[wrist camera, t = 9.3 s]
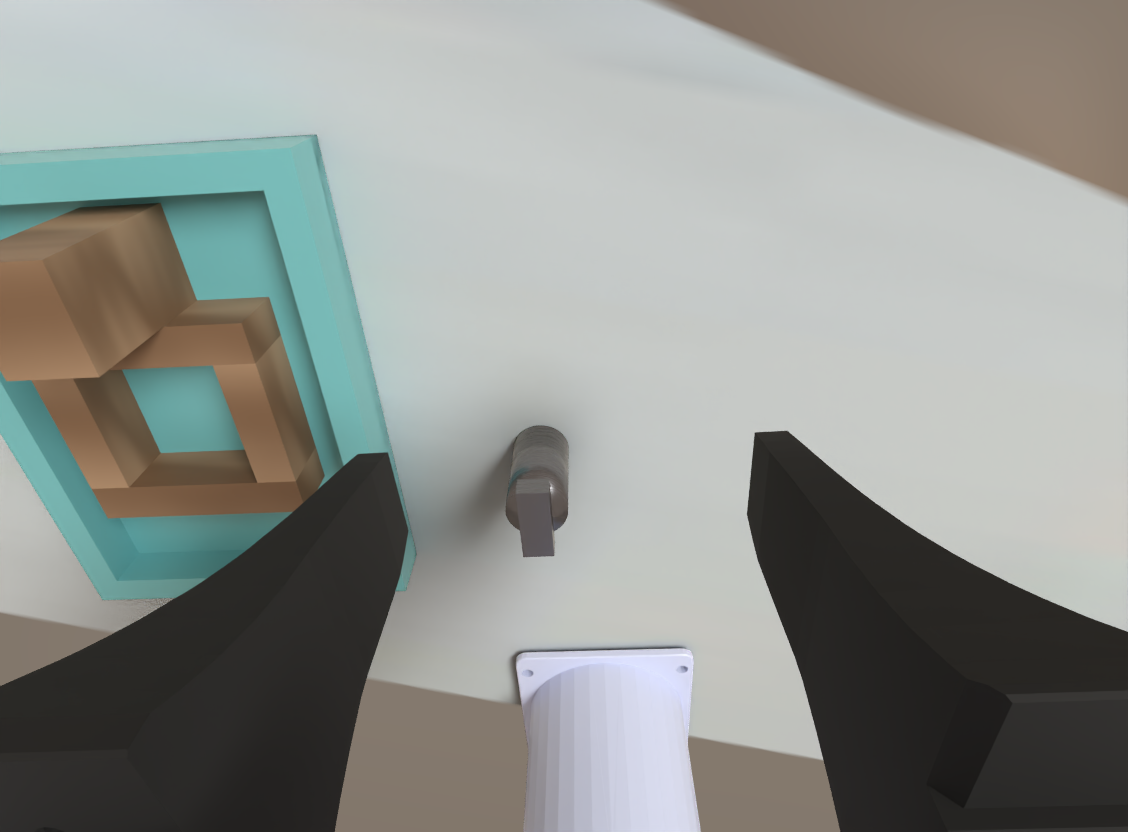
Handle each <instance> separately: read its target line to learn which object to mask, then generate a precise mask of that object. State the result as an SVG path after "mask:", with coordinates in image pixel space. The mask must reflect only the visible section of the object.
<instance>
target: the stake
mask: <svg viewBox="0 0 1128 832" xmlns="http://www.w3.org/2000/svg"><path fill="white" fill-rule="evenodd" d="M568 459H569V447H568V442H567V440H566V438H565V437H564V436H563V434H562V433H560V432H559V431H558V430H556V429H554V428H551V427H548V426H533V427H530V428H528V429H525V430H524V431H522V432H521V433H520V434H519V435H518V437H517V438H516V440H515V443H514V450H513V458H512V465H511V472H510V480H509V487H508V494H507V502H506V516H507V518H508V520H509V522H510V523H511V524H512V525H513V526H514V527H515V528H517V529H518V530H520V534H521V542H522V550H523V557H540V556H554V551H555V537H554V531H555V530H557V529H558V528H560V527H561V526H562V525H563V524H564V522H565V521H566V518H567V515H568Z"/></svg>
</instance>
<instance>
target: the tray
mask: <svg viewBox="0 0 1128 832" xmlns="http://www.w3.org/2000/svg"><path fill="white" fill-rule="evenodd" d="M148 203H161V205H162V208H163V211H164V213H165V216H166V219H167V221H168V224H169V227H170V229H171V232H172V235H173V237H174V240H175V243H176V245H177V248H178V251H179V253H180V256H181V259H182V261H183V264H184V267H185V269H186V272H187V275H188V277H189V280H190V283H191V286H192V288H193V291H194V294H195V296H196V299H197V300H214V299H234V298H255V297H269V298H270V302H271V305H272V308H273V311H274V314H275V318H276V321H277V324H278V327H279V330H280V334H281V337H282V340H283V343H284V346H285V350H286V353H287V356H288V359H289V362H290V366H291V369H292V372H293V375H294V379H295V382H296V385H297V388H298V391H299V395H300V398H301V401H302V404H303V407H304V411H305V414H306V417H307V420H308V423H309V427H310V430H311V433H312V436H313V439H314V443H315V446H316V449H317V452H318V455H319V459H320V462H321V465H322V468H323V471H324V475H325V477H324V479H323V480H322V482H321V484H320V486H319V488H320V487H321V486H322V485H323V484H324V483H326V482H327V481H328V480H329V479H330V478H331V477H332V476H333V475H334V474H335V473H336V472H338V471H339V470H340V469H341V468H342V467H343V466H344V465H345V464H346V463H348V462H349V461H350V460H351V459H352V458H354V457H355V456H356V455H357V454H365V453H383V452H388V454H389V458H390V462H391V466H392V470H393V473H394V477H395V481H396V485H397V489H398V492H399V496H400V500H401V504H402V508H403V511H404V515H405V519H406V523H407V526H408V530H409V531H408V537H407V543H406V548H405V554H404V560H403V565H402V570H401V575H400V578H399V581H398V584H397V588H396V591H406V589H407V585H408V582H409V579H410V575H411V572H412V568H413V565H414V561H415V558H416V550H415V545H414V541H413V537H412V533H411V529H410V524H409V520H408V516H407V512H406V508H405V504H404V499H403V495H402V491H401V487H400V483H399V478H398V474H397V470H396V466H395V462H394V457H393V453H392V449H391V445H390V441H389V436H388V432H387V428H386V424H385V420H384V416H383V411H382V407H381V403H380V399H379V395H378V390H377V386H376V382H375V378H374V374H373V369H372V365H371V361H370V357H369V353H368V348H367V344H366V340H365V336H364V332H363V328H362V323H361V319H360V315H359V311H358V307H357V302H356V298H355V294H354V290H353V286H352V281H351V277H350V273H349V269H348V265H347V260H346V256H345V252H344V248H343V244H342V240H341V235H340V231H339V227H338V223H337V219H336V214H335V210H334V206H333V202H332V198H331V193H330V189H329V185H328V181H327V177H326V173H325V168H324V164H323V160H322V156H321V152H320V147H319V143H318V139H317V135H302V136H285V137H269V138H252V139H235V140H218V141H201V142H184V143H168V144H151V145H134V146H117V147H100V148H84V149H67V150H50V151H33V152H16V153H0V240H2V239H4V238H7V237H9V236H12V235H14V234H17V233H19V232H21V231H24V230H26V229H29V228H31V227H34V226H36V225H38V224H41V223H43V222H46V221H48V220H50V219H53V218H55V217H58V216H60V215H63V214H65V213H67V212H70V211H72V210H75V209H77V208H80V207H94V206H112V205H130V204H148ZM122 371H123V373H124V375H125V377H126V380H127V382H128V384H129V386H130V388H131V390H132V392H133V395H134V397H135V399H136V401H137V403H138V405H139V407H140V410H141V412H142V414H143V416H144V418H145V420H146V422H147V425H148V427H149V429H150V431H151V433H152V435H153V437H154V440H155V442H156V444H157V446H158V448H159V450H160V452H161V453H173V452H199V451H225V450H245V449H244V446H243V444H242V441H241V439H240V436H239V433H238V431H237V428H236V425H235V423H234V420H233V418H232V415H231V412H230V410H229V407H228V405H227V402H226V399H225V397H224V394H223V391H222V389H221V386H220V384H219V381H218V378H217V376H216V373H215V371H214V368H213V366H191V367H168V368H146V369H124V370H122ZM0 434H1V435H2V437H3V439H4V440H5V442H6V443H7V445H8V447H9V448H10V450H11V452H12V453H13V455H14V456H15V458H16V460H17V461H18V463H19V465H20V466H21V468H22V469H23V471H24V473H25V474H26V476H27V478H28V479H29V481H30V482H31V484H32V486H33V487H34V489H35V491H36V492H37V494H38V496H39V497H40V499H41V500H42V502H43V504H44V505H45V507H46V509H47V510H48V512H49V513H50V515H51V517H52V518H53V520H54V522H55V523H56V525H57V526H58V528H59V530H60V531H61V533H62V535H63V536H64V538H65V539H66V541H67V543H68V544H69V546H70V548H71V549H72V551H73V553H74V554H75V556H76V557H77V559H78V561H79V562H80V564H81V566H82V567H83V569H84V570H85V572H86V574H87V575H88V577H89V579H90V580H91V582H92V583H93V585H94V587H95V588H96V590H97V592H98V593H99V595H100V596H101V598H102V600H122V599H155V598H177V597H178V596H180V595H182V594H183V593H185V592H187V591H188V590H190V589H192V588H193V587H195V586H196V585H198V584H199V583H201V582H202V581H204V580H205V579H207V578H208V577H210V576H211V575H212V574H214V573H215V572H217V571H218V570H220V569H221V568H223V567H224V566H226V565H227V564H228V563H230V562H231V561H232V560H234V559H235V558H237V557H238V556H239V555H241V554H242V553H243V552H245V551H246V550H247V549H248V548H250V547H251V546H252V545H253V544H255V543H256V542H257V541H258V540H260V539H261V538H262V537H263V536H264V535H266V534H267V533H268V532H269V531H271V530H272V529H273V528H274V527H275V526H277V525H278V524H279V523H280V522H281V521H283V520H284V519H285V518H286V517H288V516H289V515H290V514H291V513H292V512H277V513H248V514H220V515H191V516H163V517H134V518H107V516H106V514H105V512H104V511H103V509H102V507H101V505H100V503H99V502H98V500H97V498H96V496H95V494H94V493H93V491H92V489H91V487H90V485H89V484H88V482H87V480H86V478H85V476H84V475H83V473H82V471H81V469H80V467H79V466H78V464H77V462H76V460H75V458H74V457H73V455H72V453H71V451H70V449H69V448H68V446H67V444H66V442H65V440H64V439H63V437H62V435H61V433H60V431H59V430H58V428H57V426H56V424H55V422H54V420H53V419H52V417H51V415H50V413H49V411H48V410H47V408H46V406H45V404H44V402H43V401H42V399H41V397H40V395H39V393H38V392H37V390H36V388H35V386H34V384H33V383H32V381H31V380H25V381H6V380H5V378H4V376H3V374H2V373H1V371H0ZM319 488H318V489H319Z"/></svg>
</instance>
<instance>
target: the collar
mask: <svg viewBox="0 0 1128 832" xmlns="http://www.w3.org/2000/svg"><path fill="white" fill-rule="evenodd" d="M191 366H213V368H214V371H215V373H216V376H217V378H218V381H219V384H220V386H221V389H222V391H223V394H224V397H225V399H226V402H227V405H228V407H229V410H230V412H231V415H232V418H233V420H234V423H235V425H236V428H237V431H238V433H239V436H240V439H241V441H242V444H243V446H244V449H245V450H225V451H199V452H173V453H161V452H160V450H159V448H158V446H157V444H156V442H155V440H154V437H153V435H152V433H151V431H150V429H149V427H148V425H147V422H146V420H145V418H144V416H143V414H142V412H141V410H140V407H139V405H138V403H137V401H136V399H135V397H134V395H133V392H132V390H131V388H130V386H129V384H128V382H127V380H126V377H125V375H124V373H123V371H122V370H124V369H146V368H168V367H191ZM0 371H1V373H2V374H3V376H4V378H5V380H6V381H25V380H31V381H32V383H33V384H34V386H35V388H36V390H37V392H38V393H39V395H40V397H41V399H42V401H43V402H44V404H45V406H46V408H47V410H48V411H49V413H50V415H51V417H52V419H53V420H54V422H55V424H56V426H57V428H58V430H59V431H60V433H61V435H62V437H63V439H64V440H65V442H66V444H67V446H68V448H69V449H70V451H71V453H72V455H73V457H74V458H75V460H76V462H77V464H78V466H79V467H80V469H81V471H82V473H83V475H84V476H85V478H86V480H87V482H88V484H89V485H90V487H91V489H92V491H93V493H94V494H95V496H96V498H97V500H98V502H99V503H100V505H101V507H102V509H103V511H104V512H105V514H106V516H107V518H134V517H163V516H191V515H220V514H248V513H277V512H293V511H294V510H296V509H297V508H298V507H299V506H300V505H301V504H302V503H303V502H304V501H306V500H307V499H308V498H309V497H310V496H311V495H312V494H313V493H315V492H316V491H317V490H318V488H319V486H320V484H321V482H322V480H323V479H324V477H325V475H324V471H323V468H322V465H321V462H320V459H319V455H318V452H317V449H316V446H315V443H314V439H313V436H312V433H311V430H310V427H309V423H308V420H307V417H306V414H305V411H304V407H303V404H302V401H301V398H300V395H299V391H298V388H297V385H296V382H295V379H294V375H293V372H292V369H291V366H290V362H289V359H288V356H287V353H286V350H285V346H284V343H283V340H282V337H281V334H280V330H279V327H278V324H277V321H276V318H275V314H274V311H273V308H272V305H271V302H270V298H269V297H255V298H234V299H214V300H197V299H196V296H195V294H194V291H193V288H192V286H191V283H190V280H189V277H188V275H187V272H186V269H185V267H184V264H183V261H182V259H181V256H180V253H179V251H178V248H177V245H176V243H175V240H174V237H173V235H172V232H171V229H170V227H169V224H168V221H167V219H166V216H165V213H164V211H163V208H162V205H161V203H148V204H130V205H112V206H94V207H80V208H77V209H75V210H72V211H70V212H67V213H65V214H63V215H60V216H58V217H55V218H53V219H50V220H48V221H46V222H43V223H41V224H38V225H36V226H34V227H31V228H29V229H26V230H24V231H21V232H19V233H17V234H14V235H12V236H9V237H7V238H4V239H2V240H0Z"/></svg>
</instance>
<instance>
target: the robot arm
mask: <svg viewBox="0 0 1128 832" xmlns="http://www.w3.org/2000/svg"><path fill="white" fill-rule="evenodd" d="M747 516H748V521H749V525H750V530H751V534H752V538H753V543H754V547H755V551H756V555H757V559H758V562H759V564H760V567H761V570H762V573H763V575H764V578H765V580H766V583H767V586H768V588H769V591H770V594H771V596H772V599H773V602H774V604H775V607H776V609H777V612H778V615H779V617H780V620H781V622H782V625H783V627H784V630H785V633H786V635H787V638H788V640H789V643H790V646H791V648H792V651H793V653H794V656H795V659H796V662H797V665H798V668H799V671H800V674H801V677H802V680H803V683H804V687H805V691H806V694H807V698H808V702H809V705H810V709H811V713H812V717H813V720H814V724H815V728H816V732H817V736H818V740H819V744H820V748H821V752H822V756H823V760H824V764H825V767H826V772H827V776H828V779H829V784H830V788H831V792H832V797H833V801H834V805H835V810H836V814H837V818H838V823H839V827H840V832H1128V632H1127V631H1124V630H1121V629H1118V628H1115V627H1113V626H1110V625H1107V624H1104V623H1102V622H1099V621H1096V620H1093V619H1091V618H1088V617H1086V616H1083V615H1081V614H1079V613H1076V612H1074V611H1071V610H1069V609H1067V608H1064V607H1062V606H1060V605H1057V604H1055V603H1052V602H1050V601H1048V600H1045V599H1043V598H1041V597H1039V596H1036V595H1034V594H1032V593H1030V592H1028V591H1025V590H1023V589H1021V588H1019V587H1017V586H1015V585H1012V584H1010V583H1008V582H1006V581H1004V580H1002V579H1001V578H999V577H997V576H995V575H993V574H991V573H989V572H987V571H985V570H983V569H981V568H979V567H977V566H975V565H973V564H971V563H969V562H967V561H966V560H964V559H962V558H960V557H958V556H956V555H955V554H953V553H951V552H950V551H948V550H946V549H945V548H943V547H941V546H940V545H938V544H936V543H935V542H933V541H931V540H930V539H928V538H926V537H925V536H923V535H921V534H920V533H918V532H916V531H915V530H913V529H912V528H910V527H909V526H907V525H906V524H904V523H903V522H901V521H900V520H898V519H897V518H896V517H894V516H893V515H891V514H890V513H889V512H887V511H886V510H884V509H883V508H881V507H880V506H879V505H877V504H876V503H875V502H873V501H872V500H871V499H869V498H868V497H867V496H865V495H864V494H863V493H861V492H860V491H859V490H857V489H856V488H855V487H854V486H852V485H851V484H850V483H849V482H847V481H846V480H845V479H844V478H842V477H841V476H840V475H839V474H837V473H836V472H835V471H834V470H833V469H831V468H830V467H829V466H828V465H827V464H826V463H824V462H823V461H822V460H821V459H820V458H818V457H817V456H816V455H815V454H814V453H813V452H811V451H810V450H809V449H808V448H807V447H806V446H805V445H803V444H802V443H801V442H800V441H799V440H798V439H796V438H795V437H794V436H793V435H792V434H790V433H789V432H788V431H775V432H757V433H755V437H754V447H753V458H752V468H751V479H750V489H749V500H748V510H747ZM408 531H409V530H408V526H407V523H406V519H405V515H404V511H403V508H402V504H401V500H400V496H399V492H398V489H397V485H396V481H395V477H394V473H393V470H392V466H391V462H390V458H389V454H388V452H383V453H365V454H357V455H356V456H355V457H354V458H352V459H351V460H350V461H349V462H348V463H346V464H345V465H344V466H343V467H342V468H341V469H340V470H339V471H338V472H336V473H335V474H334V475H333V476H332V477H331V478H330V479H329V480H328V481H327V482H326V483H324V484H323V485H322V486H321V487H320V488H319V489H318V490H317V491H316V492H315V493H313V494H312V495H311V496H310V497H309V498H308V499H307V500H306V501H304V502H303V503H302V504H301V505H300V506H299V507H298V508H297V509H296V510H294V511H293V512H292V513H291V514H290V515H289V516H288V517H286V518H285V519H284V520H283V521H281V522H280V523H279V524H278V525H277V526H275V527H274V528H273V529H272V530H271V531H269V532H268V533H267V534H266V535H264V536H263V537H262V538H261V539H260V540H258V541H257V542H256V543H255V544H253V545H252V546H251V547H250V548H248V549H247V550H246V551H245V552H243V553H242V554H241V555H239V556H238V557H237V558H235V559H234V560H232V561H231V562H230V563H228V564H227V565H226V566H224V567H223V568H221V569H220V570H218V571H217V572H215V573H214V574H212V575H211V576H210V577H208V578H207V579H205V580H204V581H202V582H201V583H199V584H198V585H196V586H195V587H193V588H192V589H190V590H188V591H187V592H185V593H183V594H182V595H180V596H178V597H177V598H175V599H173V600H172V601H170V602H168V603H167V604H165V605H163V606H162V607H160V608H158V609H157V610H155V611H153V612H152V613H150V614H148V615H147V616H145V617H143V618H141V619H140V620H138V621H136V622H134V623H132V624H130V625H129V626H127V627H125V628H123V629H121V630H119V631H117V632H115V633H114V634H112V635H110V636H108V637H106V638H104V639H102V640H100V641H98V642H96V643H94V644H92V645H90V646H88V647H86V648H84V649H82V650H80V651H78V652H76V653H74V654H72V655H70V656H67V657H65V658H63V659H61V660H59V661H57V662H54V663H52V664H50V665H47V666H45V667H43V668H41V669H38V670H36V671H34V672H32V673H29V674H27V675H25V676H22V677H20V678H18V679H16V680H13V681H11V682H9V683H6V684H4V685H2V686H0V832H335V826H336V820H337V814H338V809H339V803H340V797H341V792H342V787H343V782H344V777H345V771H346V766H347V761H348V756H349V751H350V746H351V741H352V737H353V732H354V727H355V723H356V718H357V714H358V709H359V705H360V700H361V696H362V692H363V689H364V685H365V681H366V678H367V675H368V672H369V669H370V666H371V663H372V660H373V657H374V654H375V651H376V648H377V645H378V642H379V639H380V636H381V633H382V630H383V627H384V624H385V621H386V618H387V615H388V612H389V609H390V606H391V603H392V600H393V597H394V594H395V591H396V588H397V584H398V581H399V578H400V575H401V570H402V565H403V560H404V554H405V548H406V543H407V537H408ZM693 663H694V660H693V655H692V652H691V651H690V650H688V649H684V648H673V649H635V650H597V651H558V652H525V653H521V654H519V655H518V656H517V658H516V671H517V677H518V684H519V691H520V698H521V704H522V711H523V717H524V725H525V732H526V738H527V744H528V766H527V782H526V799H525V815H524V831H523V832H701V830H700V823H699V817H698V810H697V804H696V797H695V791H694V784H693V778H692V771H691V765H690V758H689V751H688V746H687V744H688V731H689V717H690V704H691V690H692V677H693Z"/></svg>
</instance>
